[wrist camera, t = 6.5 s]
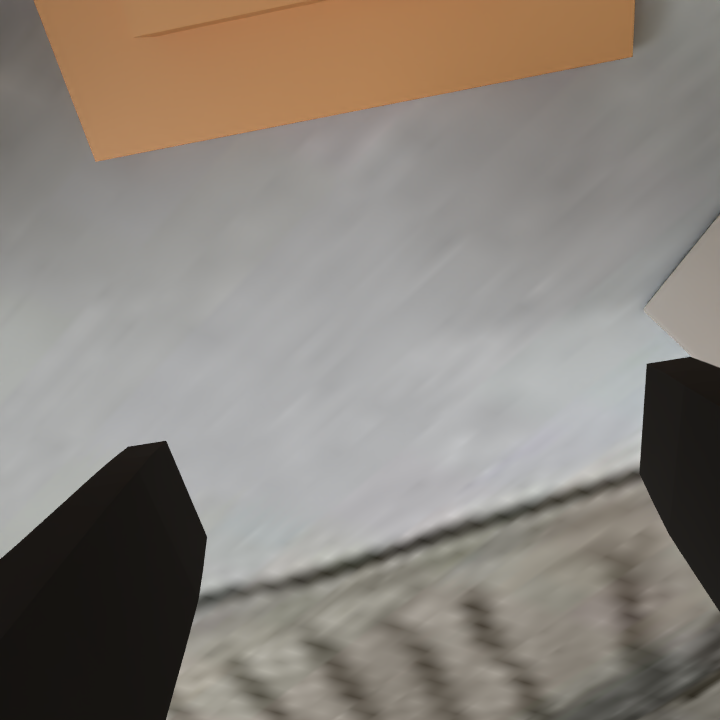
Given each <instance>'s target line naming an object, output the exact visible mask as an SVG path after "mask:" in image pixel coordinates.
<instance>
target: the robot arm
mask: <svg viewBox="0 0 720 720" xmlns="http://www.w3.org/2000/svg"><path fill="white" fill-rule="evenodd" d="M640 475H641V478H642V480H643V482H644V484H645V486H646V488H647V490H648V492H649V495H650V497H651V499H652V501H653V503H654V505H655V507H656V509H657V511H658V513H659V515H660V517H661V519H662V521H663V523H664V525H665V527H666V529H667V531H668V533H669V535H670V536H671V538H672V540H673V541H674V543H675V544H676V546H677V547H678V549H679V551H680V552H681V554H682V555H683V557H684V558H685V560H686V561H687V563H688V564H689V566H690V567H691V569H692V570H693V572H694V574H695V575H696V577H697V578H698V580H699V581H700V583H701V584H702V586H703V587H704V589H705V590H706V592H707V593H708V595H709V596H710V598H711V599H712V601H713V602H714V604H715V605H716V607H717V608H718V610H719V611H720V368H719V367H717V366H714V365H712V364H709V363H706V362H704V361H701V360H698V359H695V358H692V357H687V358H680V359H674V360H668V361H662V362H655V363H649V364H647V369H646V384H645V399H644V414H643V429H642V444H641V459H640ZM206 541H207V536H206V533H205V531H204V529H203V526H202V524H201V522H200V519H199V517H198V515H197V512H196V510H195V508H194V505H193V503H192V501H191V498H190V496H189V494H188V491H187V489H186V486H185V484H184V482H183V479H182V477H181V475H180V472H179V470H178V468H177V465H176V463H175V461H174V458H173V456H172V454H171V451H170V449H169V447H168V444H167V442H166V441H162V442H156V443H149V444H143V445H137V446H131V447H127V448H126V449H125V450H123V451H122V452H121V453H120V454H118V455H117V456H116V457H114V458H113V459H112V460H111V461H110V462H108V463H107V464H106V465H105V466H104V467H103V468H101V469H100V470H99V471H98V472H97V473H96V474H95V475H94V476H92V477H91V478H90V479H89V480H88V481H87V482H86V483H85V484H84V485H82V486H81V487H80V488H79V489H78V490H77V491H76V492H75V493H74V494H73V495H71V496H70V497H69V498H68V499H67V500H66V501H65V502H64V503H63V504H62V505H60V506H59V507H58V508H57V509H56V510H55V511H54V512H53V513H52V514H50V515H49V516H48V517H47V518H46V519H45V520H44V521H43V522H42V523H41V524H39V525H38V526H37V527H36V528H35V529H34V530H33V531H32V532H31V533H29V534H28V535H27V536H26V537H25V538H24V539H23V540H22V541H21V542H19V543H18V544H17V545H16V546H15V547H14V548H13V549H12V550H10V551H9V552H8V553H7V554H6V555H5V556H3V557H2V558H1V559H0V720H166V717H167V713H168V710H169V706H170V703H171V699H172V695H173V692H174V688H175V685H176V681H177V677H178V674H179V670H180V667H181V663H182V659H183V656H184V652H185V648H186V645H187V641H188V637H189V634H190V630H191V626H192V622H193V619H194V615H195V611H196V607H197V603H198V599H199V593H200V586H201V580H202V573H203V566H204V557H205V549H206Z"/></svg>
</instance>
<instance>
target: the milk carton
mask: <svg viewBox="0 0 720 720" xmlns="http://www.w3.org/2000/svg"><path fill="white" fill-rule="evenodd" d="M644 312H645V313H646V314H647V315H648V316H649V317H650V318H651V319H653V320H654V321H655V322H656V323H657V324H658V325H659V326H660V327H661V328H662V329H663V330H664V331H665V332H666V333H667V334H668V335H669V336H670V337H672V338H673V339H674V340H675V341H676V342H677V343H678V344H679V345H680V346H681V347H682V348H683V349H684V350H685V351H686V352H687V353H688V354H689V355H691V356H692V357H693V358H695V359H698V360H701V361H704V362H706V363H709V364H712V365H714V366H717V367H719V368H720V215H719V216H718V217H717V218H716V220H715V221H714V222H713V223H712V225H711V226H710V227H709V228H708V229H707V231H706V232H705V233H704V234H703V236H702V237H701V238H700V239H699V241H698V242H697V243H696V244H695V245H694V247H693V248H692V249H691V250H690V252H689V253H688V254H687V255H686V257H685V258H684V259H683V260H682V262H681V263H680V264H679V265H678V266H677V268H676V269H675V270H674V271H673V273H672V274H671V275H670V276H669V278H668V279H667V280H666V281H665V283H664V284H663V285H662V286H661V288H660V289H659V290H658V291H657V293H656V294H655V295H654V296H653V297H652V299H651V300H650V301H649V302H648V304H647V305H646V306H645V308H644Z"/></svg>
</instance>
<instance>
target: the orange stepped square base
mask: <svg viewBox="0 0 720 720" xmlns="http://www.w3.org/2000/svg"><path fill="white" fill-rule="evenodd" d="M34 3H35V5H36V8H37V11H38V13H39V16H40V18H41V21H42V24H43V26H44V29H45V31H46V34H47V36H48V39H49V42H50V44H51V47H52V49H53V52H54V55H55V57H56V60H57V62H58V65H59V68H60V70H61V73H62V75H63V78H64V81H65V83H66V86H67V88H68V91H69V94H70V96H71V99H72V101H73V104H74V107H75V109H76V112H77V114H78V117H79V120H80V122H81V125H82V127H83V130H84V133H85V135H86V138H87V140H88V143H89V146H90V148H91V151H92V153H93V156H94V159H95V161H96V162H97V161H102V160H107V159H112V158H117V157H122V156H128V155H133V154H138V153H143V152H148V151H153V150H158V149H163V148H169V147H174V146H179V145H184V144H189V143H194V142H199V141H204V140H209V139H215V138H220V137H225V136H230V135H235V134H240V133H245V132H250V131H255V130H261V129H266V128H271V127H276V126H281V125H286V124H291V123H296V122H302V121H307V120H312V119H317V118H322V117H327V116H332V115H337V114H342V113H348V112H353V111H358V110H363V109H368V108H373V107H378V106H383V105H389V104H394V103H399V102H404V101H409V100H414V99H419V98H424V97H429V96H435V95H440V94H445V93H450V92H455V91H460V90H465V89H470V88H475V87H481V86H486V85H491V84H496V83H501V82H506V81H511V80H516V79H522V78H527V77H532V76H537V75H542V74H547V73H552V72H557V71H562V70H568V69H573V68H578V67H583V66H588V65H593V64H598V63H603V62H608V61H614V60H619V59H624V58H629V57H633V35H634V11H635V0H34Z"/></svg>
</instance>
